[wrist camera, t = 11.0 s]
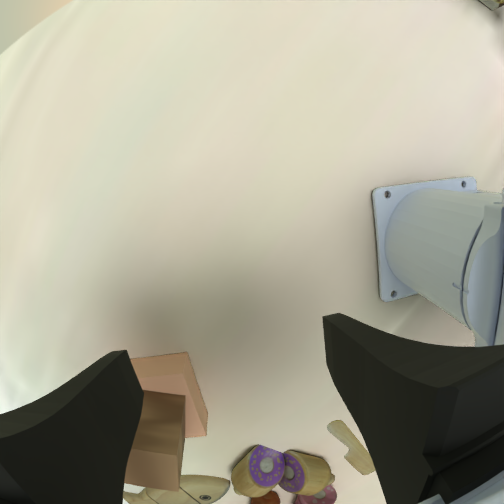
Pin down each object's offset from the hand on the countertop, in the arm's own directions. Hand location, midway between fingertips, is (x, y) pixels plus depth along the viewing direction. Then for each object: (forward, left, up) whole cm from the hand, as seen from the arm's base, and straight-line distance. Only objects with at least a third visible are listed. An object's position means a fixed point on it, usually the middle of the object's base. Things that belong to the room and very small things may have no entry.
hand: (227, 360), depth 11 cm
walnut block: (+7, +8, -7) cm, 13 cm away
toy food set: (+3, +25, -11) cm, 27 cm away
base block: (+7, +8, -10) cm, 15 cm away
